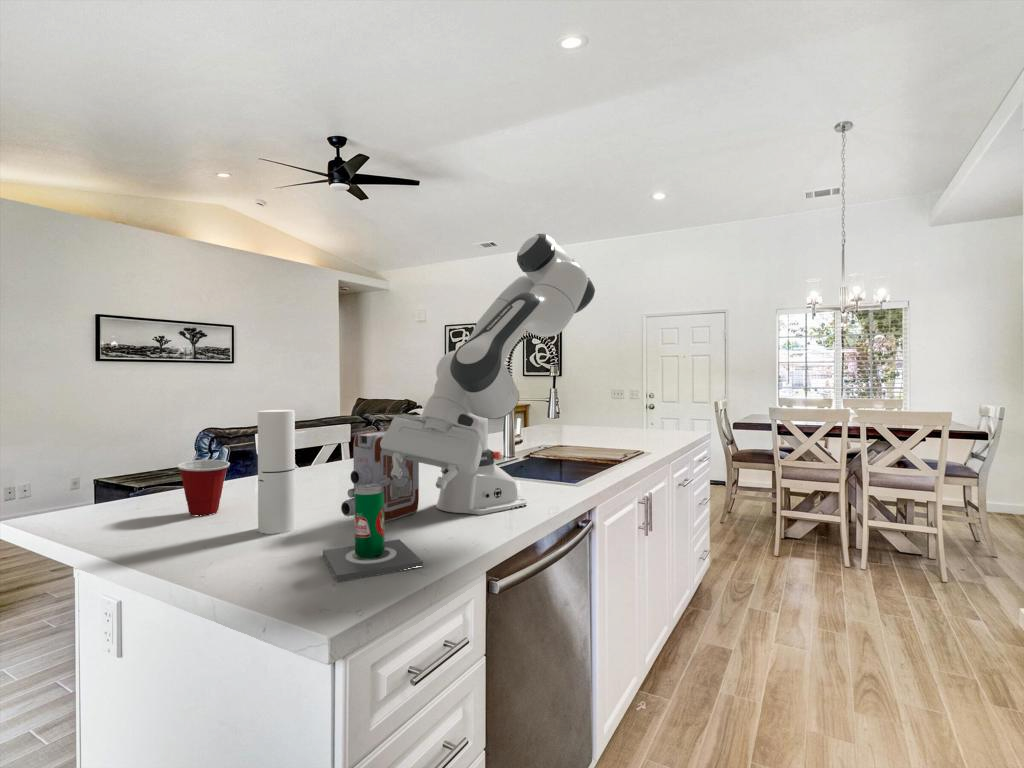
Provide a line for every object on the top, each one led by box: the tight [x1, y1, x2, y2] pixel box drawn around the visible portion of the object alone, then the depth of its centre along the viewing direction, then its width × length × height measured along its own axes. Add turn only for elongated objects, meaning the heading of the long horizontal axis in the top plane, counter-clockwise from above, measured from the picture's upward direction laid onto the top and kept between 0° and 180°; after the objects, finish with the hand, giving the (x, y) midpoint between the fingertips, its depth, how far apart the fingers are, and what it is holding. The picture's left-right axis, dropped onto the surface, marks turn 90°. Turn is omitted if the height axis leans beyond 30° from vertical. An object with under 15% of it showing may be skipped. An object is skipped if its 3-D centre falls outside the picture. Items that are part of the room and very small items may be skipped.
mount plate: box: [322, 539, 424, 582], centre depth 94 cm, size 14×14×1 cm
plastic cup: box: [176, 459, 231, 517], centre depth 127 cm, size 11×11×12 cm
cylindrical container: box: [257, 409, 296, 535], centre depth 114 cm, size 7×7×25 cm
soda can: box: [353, 484, 386, 559], centre depth 94 cm, size 5×5×12 cm
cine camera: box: [340, 429, 420, 523], centre depth 122 cm, size 9×19×20 cm, turn 146°
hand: (417, 482), depth 103 cm, fingers open, 8 cm apart
